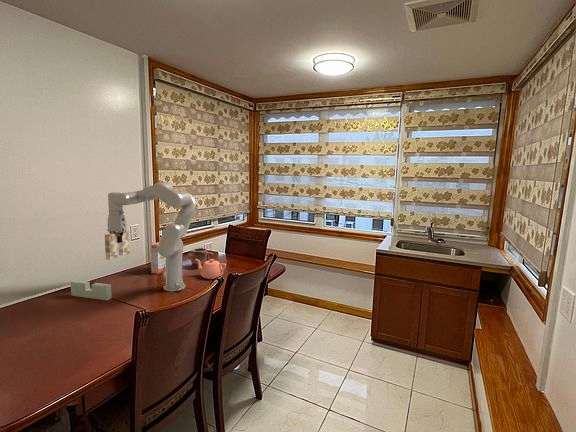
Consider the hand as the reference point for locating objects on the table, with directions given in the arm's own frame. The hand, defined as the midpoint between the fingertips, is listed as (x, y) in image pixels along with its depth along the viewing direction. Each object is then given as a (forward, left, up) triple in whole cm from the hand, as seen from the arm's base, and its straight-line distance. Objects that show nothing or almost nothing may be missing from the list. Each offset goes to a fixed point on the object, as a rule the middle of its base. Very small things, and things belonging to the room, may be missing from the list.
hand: (117, 241), depth 187 cm
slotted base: (-8, +20, -27) cm, 35 cm away
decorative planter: (-14, -54, -27) cm, 62 cm away
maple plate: (0, 0, -9) cm, 9 cm away
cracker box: (+2, -31, -27) cm, 41 cm away
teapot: (-35, -44, -27) cm, 62 cm away
